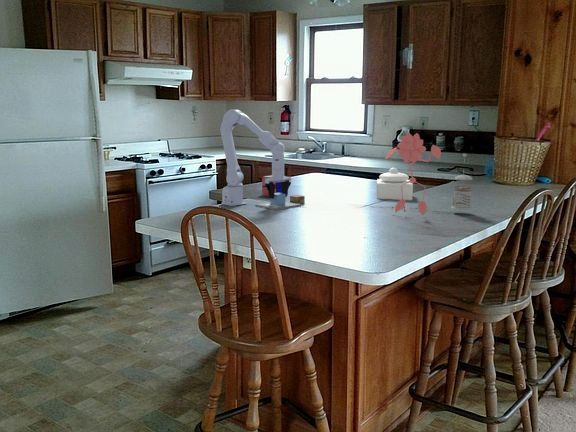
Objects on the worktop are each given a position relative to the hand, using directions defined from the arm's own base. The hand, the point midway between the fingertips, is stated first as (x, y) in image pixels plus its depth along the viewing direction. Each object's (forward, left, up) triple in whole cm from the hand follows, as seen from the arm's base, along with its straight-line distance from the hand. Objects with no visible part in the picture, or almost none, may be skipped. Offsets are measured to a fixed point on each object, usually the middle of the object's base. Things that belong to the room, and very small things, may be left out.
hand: (278, 197), depth 271 cm
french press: (+60, -59, -4) cm, 84 cm away
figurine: (+27, -54, -4) cm, 61 cm away
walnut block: (+12, 0, -4) cm, 13 cm away
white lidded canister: (+60, -21, -5) cm, 64 cm away
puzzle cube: (+22, +28, -4) cm, 36 cm away
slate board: (0, 0, -4) cm, 4 cm away
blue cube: (0, 0, -3) cm, 3 cm away
